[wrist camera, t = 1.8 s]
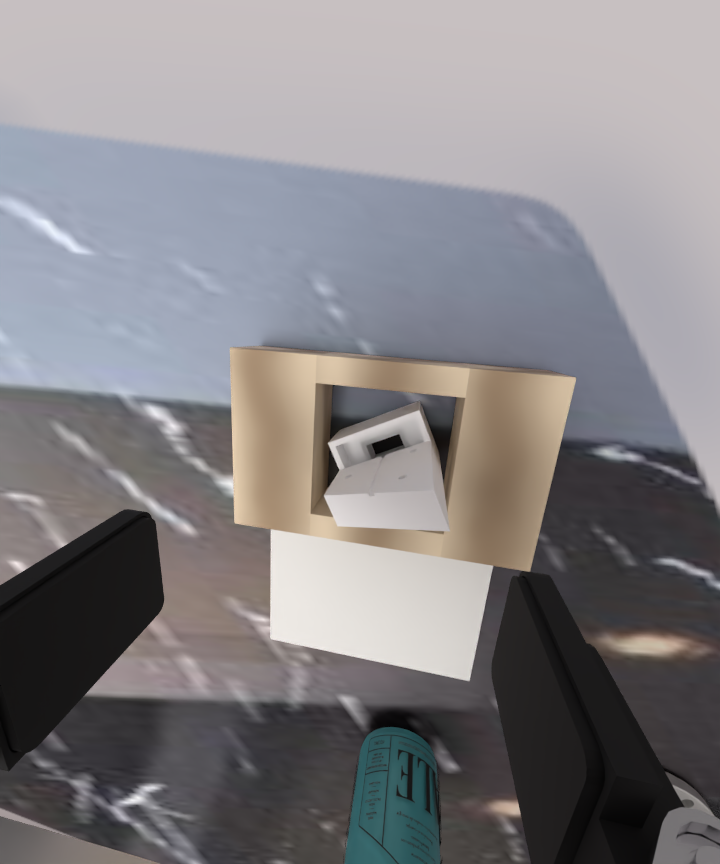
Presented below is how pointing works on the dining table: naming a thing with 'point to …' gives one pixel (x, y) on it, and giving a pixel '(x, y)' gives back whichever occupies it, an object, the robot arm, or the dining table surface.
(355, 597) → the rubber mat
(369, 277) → the dining table surface
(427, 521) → the white angled block
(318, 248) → the dining table surface
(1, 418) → the dining table surface
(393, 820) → the beverage bottle
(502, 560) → the block
